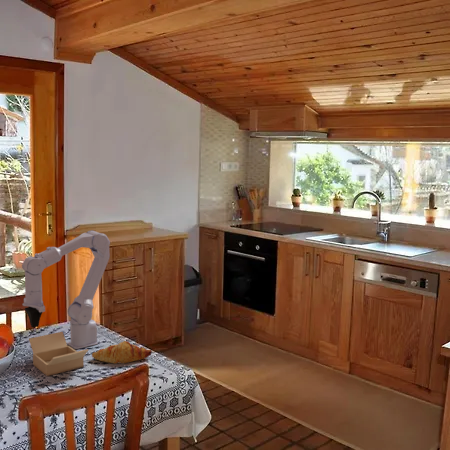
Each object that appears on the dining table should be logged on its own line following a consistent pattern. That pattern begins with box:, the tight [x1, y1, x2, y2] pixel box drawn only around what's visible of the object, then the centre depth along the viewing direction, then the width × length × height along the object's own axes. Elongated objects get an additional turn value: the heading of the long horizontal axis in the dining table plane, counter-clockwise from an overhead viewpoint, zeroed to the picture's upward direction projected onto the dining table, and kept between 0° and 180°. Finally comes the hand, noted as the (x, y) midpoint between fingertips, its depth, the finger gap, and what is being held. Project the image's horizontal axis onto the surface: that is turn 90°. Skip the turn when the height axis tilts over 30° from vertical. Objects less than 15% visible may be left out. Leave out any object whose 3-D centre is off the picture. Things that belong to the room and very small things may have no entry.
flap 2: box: [48, 348, 89, 366], centre depth 182 cm, size 12×6×1 cm
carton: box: [32, 345, 85, 377], centre depth 189 cm, size 13×12×4 cm
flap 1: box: [28, 331, 68, 355], centre depth 194 cm, size 12×6×1 cm
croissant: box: [91, 340, 153, 364], centre depth 195 cm, size 21×10×8 cm, turn 97°
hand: (34, 326), depth 198 cm, fingers closed
